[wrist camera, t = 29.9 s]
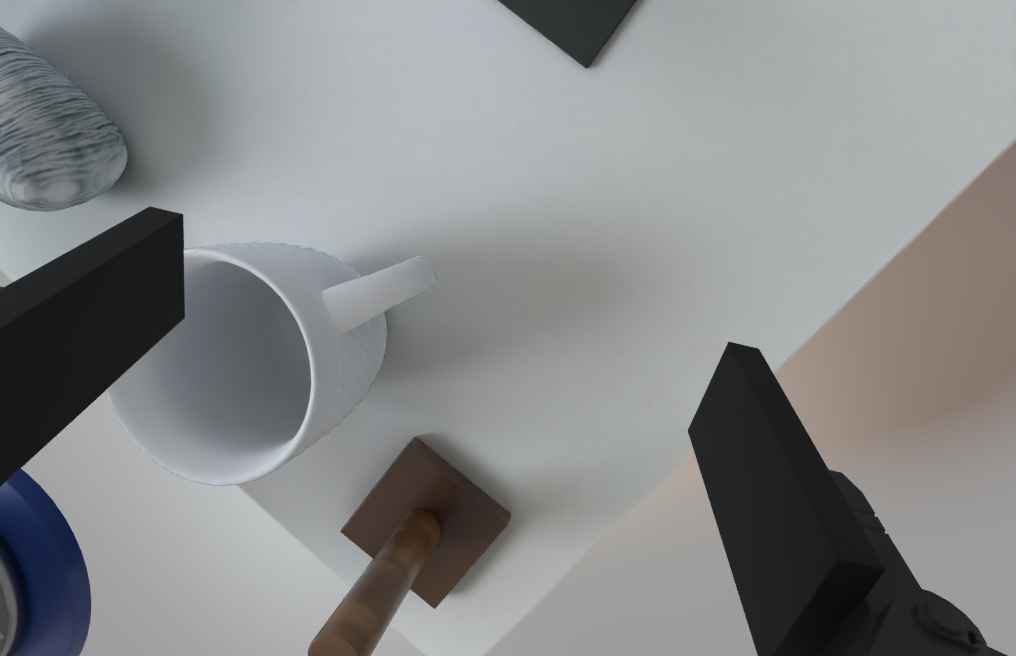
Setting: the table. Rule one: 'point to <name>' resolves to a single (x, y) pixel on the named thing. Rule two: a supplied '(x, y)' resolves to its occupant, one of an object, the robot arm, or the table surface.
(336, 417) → the mug
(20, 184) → the streaked grey ellipsoid
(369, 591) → the dowel stand
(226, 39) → the table surface
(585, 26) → the mat
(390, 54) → the table surface
